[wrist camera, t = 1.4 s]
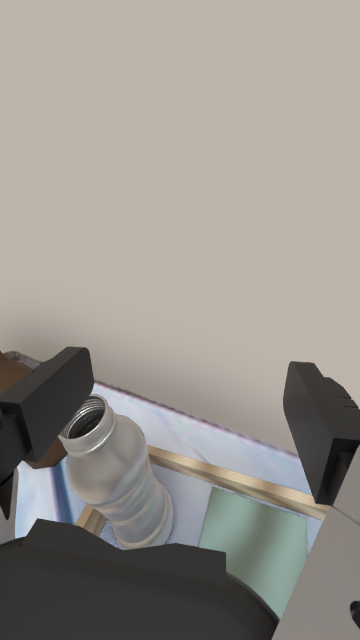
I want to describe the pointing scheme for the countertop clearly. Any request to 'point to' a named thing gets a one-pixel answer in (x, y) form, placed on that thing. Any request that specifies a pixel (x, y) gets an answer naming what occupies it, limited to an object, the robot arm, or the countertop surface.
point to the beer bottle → (3, 376)
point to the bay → (244, 526)
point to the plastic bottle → (116, 474)
